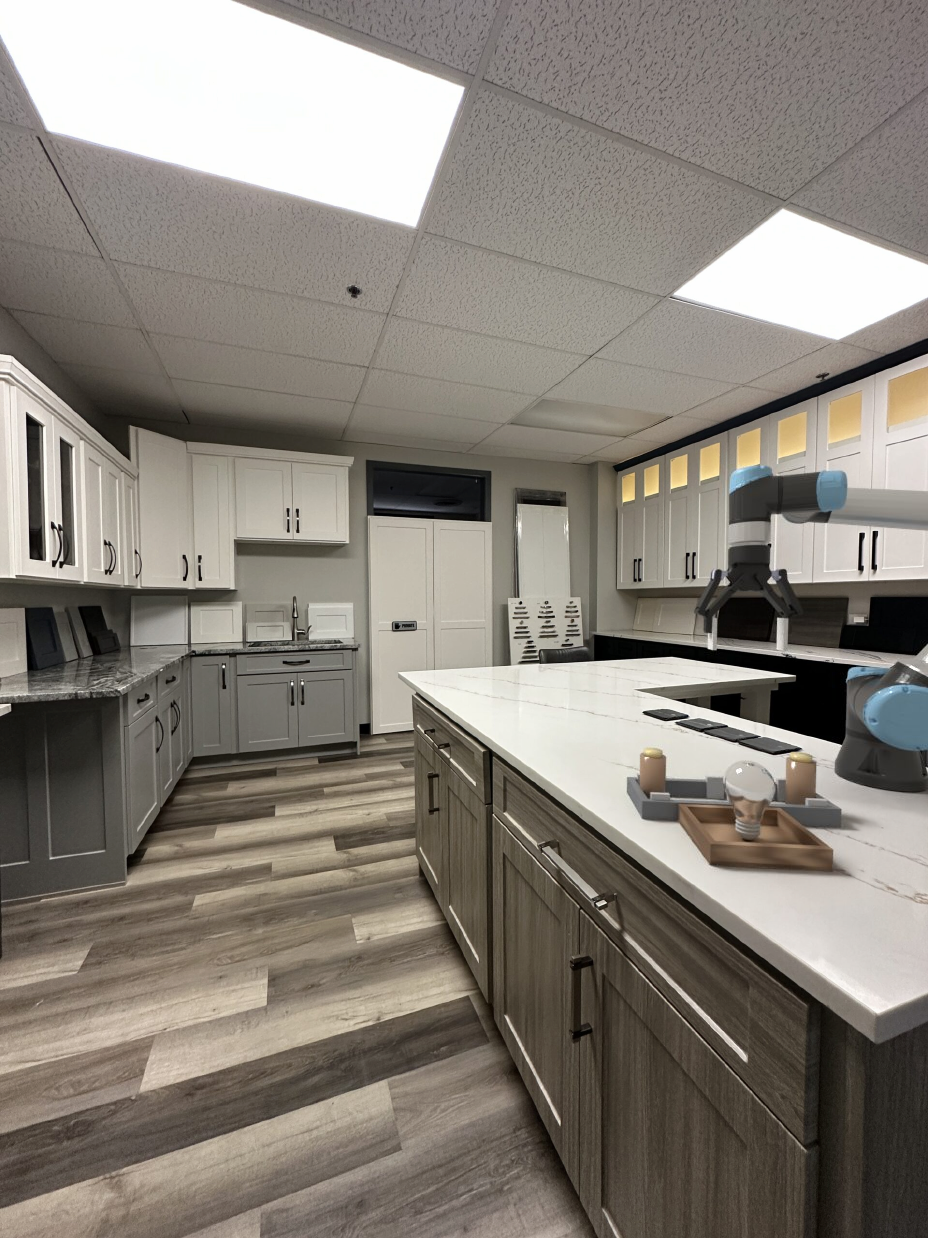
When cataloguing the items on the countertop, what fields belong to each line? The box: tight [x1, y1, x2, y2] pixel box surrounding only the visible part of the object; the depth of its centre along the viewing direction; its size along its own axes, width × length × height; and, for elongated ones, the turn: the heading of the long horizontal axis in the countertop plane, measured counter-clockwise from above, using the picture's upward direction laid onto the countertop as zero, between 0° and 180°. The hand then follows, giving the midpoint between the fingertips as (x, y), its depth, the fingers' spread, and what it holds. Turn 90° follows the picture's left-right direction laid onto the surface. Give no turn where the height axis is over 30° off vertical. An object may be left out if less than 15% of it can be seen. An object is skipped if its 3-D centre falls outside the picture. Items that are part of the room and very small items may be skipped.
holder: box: [626, 772, 843, 828], centre depth 90 cm, size 31×12×4 cm, turn 84°
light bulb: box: [723, 760, 776, 841], centre depth 77 cm, size 7×7×12 cm
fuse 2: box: [784, 751, 817, 805], centre depth 89 cm, size 4×4×10 cm
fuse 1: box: [639, 747, 667, 799], centre depth 91 cm, size 4×4×10 cm
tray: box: [677, 804, 834, 872], centre depth 77 cm, size 16×14×3 cm
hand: (746, 650), depth 104 cm, fingers open, 13 cm apart
